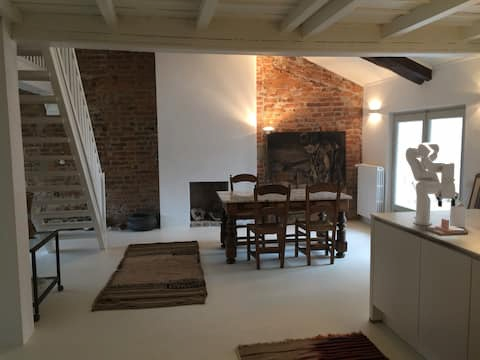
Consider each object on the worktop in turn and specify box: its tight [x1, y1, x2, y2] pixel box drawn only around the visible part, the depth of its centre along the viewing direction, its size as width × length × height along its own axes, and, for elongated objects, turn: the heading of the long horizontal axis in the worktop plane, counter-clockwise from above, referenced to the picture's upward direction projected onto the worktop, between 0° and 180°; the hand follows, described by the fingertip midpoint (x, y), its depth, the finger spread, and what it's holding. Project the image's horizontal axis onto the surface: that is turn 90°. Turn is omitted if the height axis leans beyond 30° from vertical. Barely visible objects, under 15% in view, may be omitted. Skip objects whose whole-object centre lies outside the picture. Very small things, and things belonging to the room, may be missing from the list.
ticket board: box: [425, 225, 469, 236], centre depth 275 cm, size 16×20×3 cm
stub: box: [434, 218, 455, 232], centre depth 274 cm, size 12×6×7 cm, turn 10°
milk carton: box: [449, 199, 467, 228], centre depth 291 cm, size 7×7×19 cm
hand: (446, 206), depth 273 cm, fingers open, 9 cm apart
